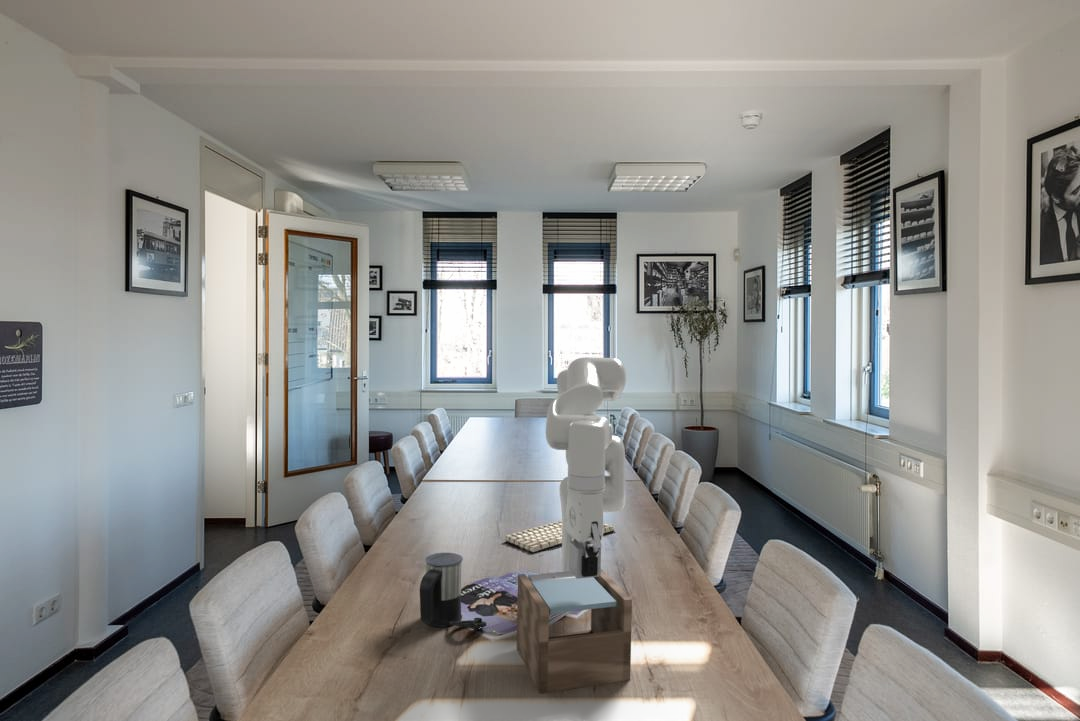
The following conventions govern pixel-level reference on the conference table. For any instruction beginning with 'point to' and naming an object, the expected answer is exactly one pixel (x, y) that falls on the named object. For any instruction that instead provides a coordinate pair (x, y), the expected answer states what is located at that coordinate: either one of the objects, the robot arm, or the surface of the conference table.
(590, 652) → the stand
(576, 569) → the grey cube-like block
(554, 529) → the mechanical keyboard
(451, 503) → the conference table surface
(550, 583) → the trapdoor
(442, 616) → the milk frother
